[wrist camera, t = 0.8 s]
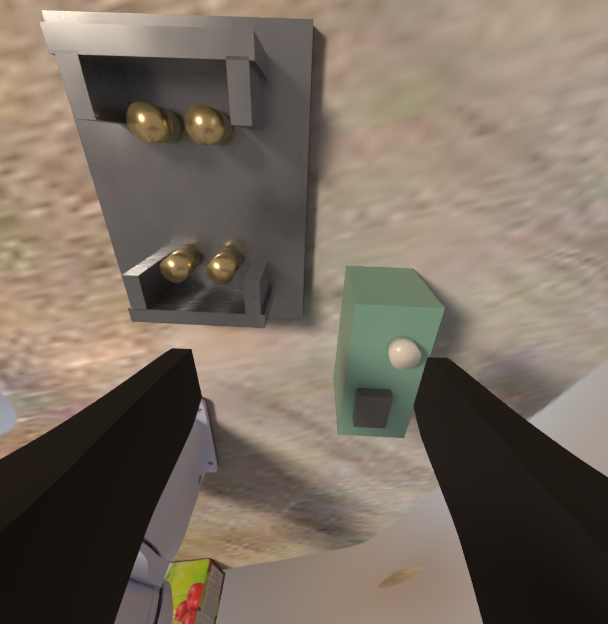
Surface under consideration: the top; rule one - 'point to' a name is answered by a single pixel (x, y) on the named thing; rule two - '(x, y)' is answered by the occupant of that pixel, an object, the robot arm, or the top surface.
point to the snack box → (195, 591)
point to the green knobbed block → (382, 349)
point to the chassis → (195, 156)
